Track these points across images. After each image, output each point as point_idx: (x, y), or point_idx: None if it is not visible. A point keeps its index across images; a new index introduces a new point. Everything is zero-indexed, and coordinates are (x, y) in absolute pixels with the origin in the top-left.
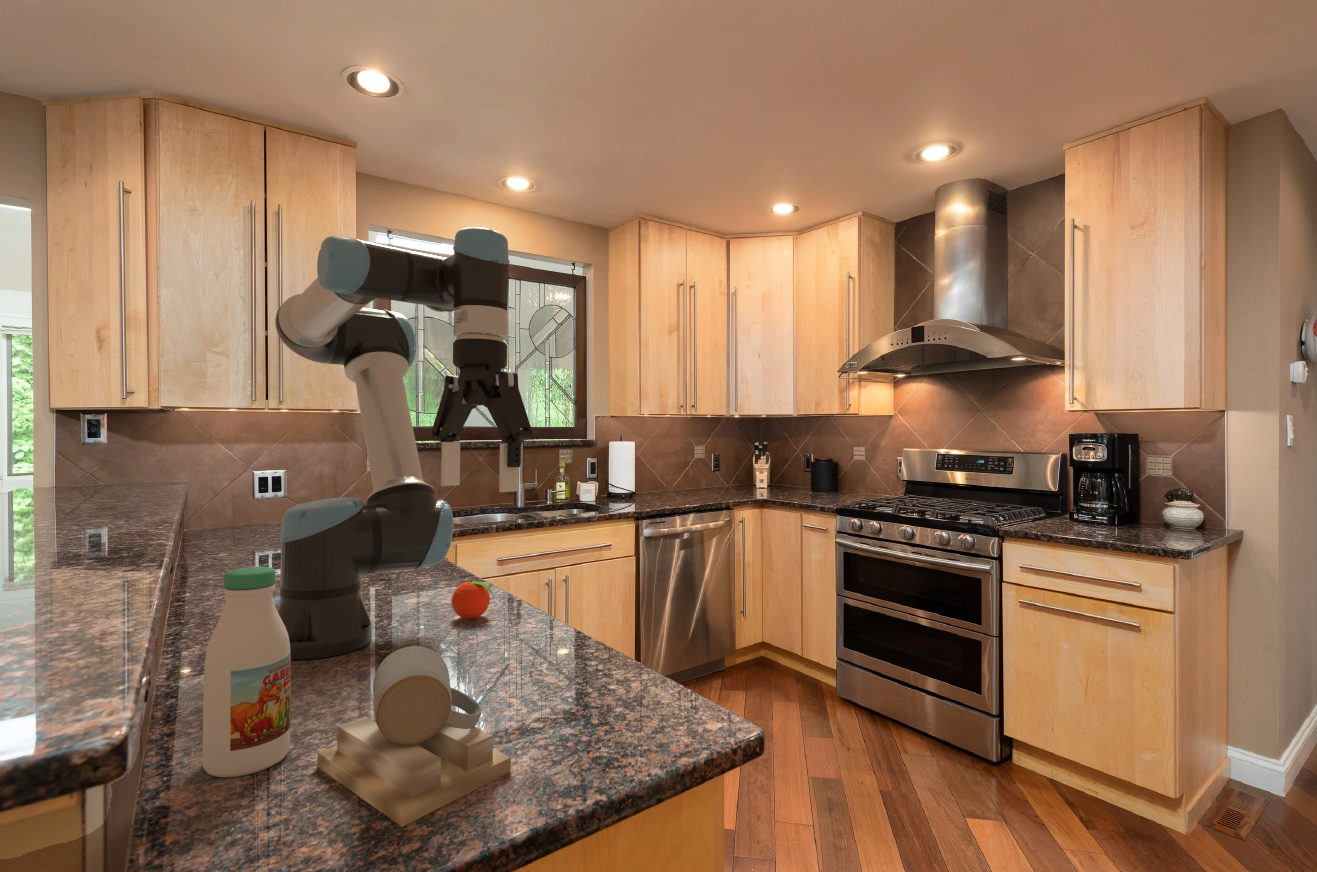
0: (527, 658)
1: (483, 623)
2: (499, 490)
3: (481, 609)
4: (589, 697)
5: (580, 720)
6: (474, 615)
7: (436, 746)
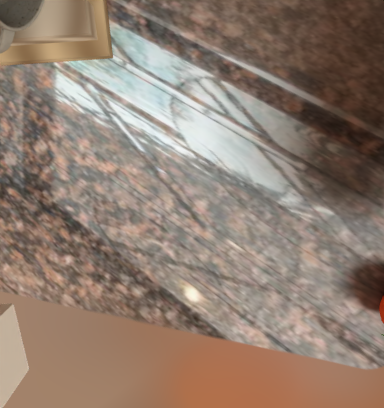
0: (203, 252)
1: (360, 295)
2: (9, 307)
3: (380, 309)
4: (61, 225)
5: (21, 183)
6: (382, 297)
7: None
